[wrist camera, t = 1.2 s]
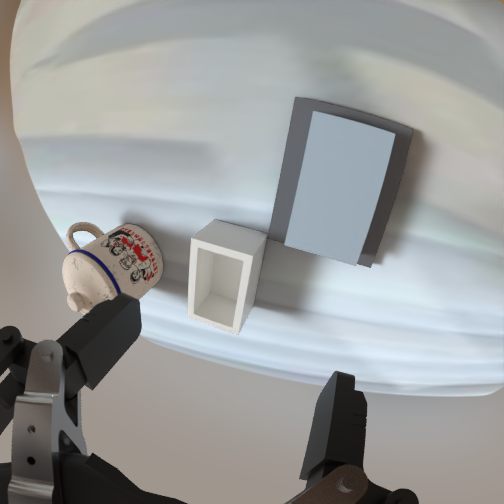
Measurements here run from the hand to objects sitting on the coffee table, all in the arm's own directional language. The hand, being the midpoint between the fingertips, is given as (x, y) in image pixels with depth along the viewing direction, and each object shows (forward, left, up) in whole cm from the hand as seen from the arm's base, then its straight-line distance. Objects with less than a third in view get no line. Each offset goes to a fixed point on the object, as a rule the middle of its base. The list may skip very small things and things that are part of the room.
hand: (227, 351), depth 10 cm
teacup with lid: (+9, -19, -18) cm, 28 cm away
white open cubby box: (+7, -5, -18) cm, 20 cm away
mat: (-4, +3, -18) cm, 18 cm away
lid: (-4, +3, -17) cm, 17 cm away
